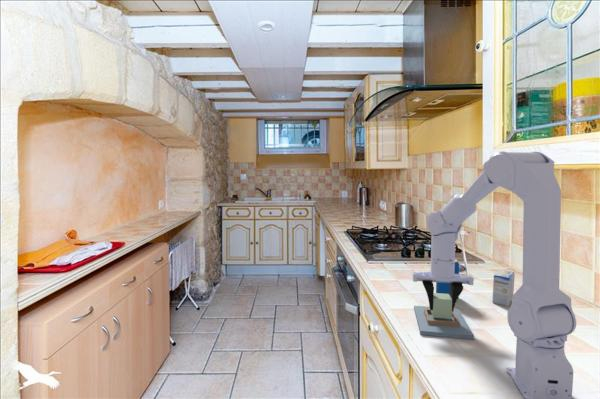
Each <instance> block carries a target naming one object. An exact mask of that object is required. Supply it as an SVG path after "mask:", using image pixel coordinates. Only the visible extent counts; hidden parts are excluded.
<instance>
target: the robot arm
mask: <svg viewBox="0 0 600 399" xmlns="http://www.w3.org/2000/svg"><path fill="white" fill-rule="evenodd" d="M482 165H483V166H482V172H481V173H480V174H479V175H478V176H477V178H475V180H473V182H472V184H470V186H469V187H468V188H467V189H466V190H465V191H464V193H457V194H456V193H455V194H453V195H451V198H450V200H449V201H448V202H447V203H446V204H445V205H444V206H442V207H441V208H440V210H438V211H432V212H430V213H429V214H428V216H427V219H426V228H427V230H428V232H429V233H430V235H431V240H430V242H431V244H430V271H425V272H420V271H419V272H414V271H413V272H412V281H413V282H416V283H417V282H422V285H423V287H424V289H425V293H426V295H427V299H428V305H429V306H428V307H430V310H433V294H434V293H435V287H434V283H436V282H442V283H449V288H450V297H451V299H452V312H453V310H454V309H455V306H456V304H457V301H458V298H459V296H460V295H461V294H462V292H463V291H464V286H463V285H469V286H474V280H475V279H474V276H472V275H467V274H460V273H459V274H454V270H455V259H456V242H457V240H458V236H459V232H461V229H462V226H463V225H462V224H463V223H464V222H465V221H466V220H468V219H469V218H470V217H471V216H472V215H474V213H475V212H476V211H477V204H478V203H479V202H480V201H482V200H483V199H485V198H486V197H487V196H488V195H490V194H491V193H492V192H494V191H495V190H496V189H498V188H499V187H501V188H503V189H506V190H508V191H510V192H512V193H514V194H515V196H517V197H518V198H519V199H520V200H522V202H523V213H522V214H523V215H522V216H523V217H522V218H523V219H522V220H523V222H522V224H523V225H522V226H523V227H522V230H523V231H522V233H523V235H522V237H523V238H522V284H521V286H520V287H519V288H518V289H517V290H516V291H515V292H514V293H513V296H512V301H511V304H510V307H509V310H508V311H507V317H506V318H507V324H508V326H509V327H510V330H511V331H512V333H513V336H514V337H516V343H515V344H516V345H515V346H516V348H515V364H514V365H515V367H507V368H506V371H507V372H508V374H509V376H510V378H511V379H512V381H513V382H514V384H515V385H516V387H517V388H518V390H519V391H520V393H521V394H522V397H523V398H524V399H575V398H574V397H573V387H574V385H573V383H574V368H573V366H572V364H571V362H570V361H569V359H568V358H567V356H566V352H565V342H567V341H568V336H569V335H571V334H572V333H573V332H575V330H576V327H577V318H576V315H575V312H574V311H573V308H572V298H571V297H570V296H569V295H568V294H566V293H565V292H563V291H562V290H561V289H560V268H561V266H560V264H561V261H560V259H561V217H562V216H561V215H562V213H561V212H562V210H561V209H562V189H561V187H560V185H559V182H558V180H557V177H556V175H555V161H554V160H552V158H550V157H549V156H548V155H546V154H544V153H543V152H541V151H531V152H526V151H525V152H523V151H522V152H519V151H517V152H516V151H515V152H513V151H511V152H509V151H508V152H507V151H500V150H499V151H497V152H495V153H493V154H492V155H491V156H490V157H489V158H488V160H486V161H485V162H484V163H483V164H482Z"/></svg>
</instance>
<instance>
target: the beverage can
mask: <svg viewBox="0 0 600 399" xmlns="http://www.w3.org/2000/svg"><path fill="white" fill-rule="evenodd" d="M458 261H459V260H458V258H455V270H454V274H460V264H459V262H458ZM435 293H443V294H449V295H450V288H449V283H442V282H435Z"/></svg>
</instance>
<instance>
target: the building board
mask: <svg viewBox="0 0 600 399" xmlns="http://www.w3.org/2000/svg"><path fill="white" fill-rule="evenodd" d="M413 311H414V315H415V318H416V323H417V327H418V331H419V335H420V336H430V337H432V336H433V337H441V338H442V337H443V338H451V339H453V338H454V339H463V340H473V341H474V340H475V335H474V333H473V331H472V329H471V328H470V325H469V324H468V322H467V321H466V318H465V317H464V315H463V314H462V312H461V310H460V308H454V310H453V312H452V319H445V318H433V315H432V313H431V310H430V307H429V306H424V305H423V306H422V305H414V306H413Z"/></svg>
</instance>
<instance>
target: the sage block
mask: <svg viewBox="0 0 600 399" xmlns="http://www.w3.org/2000/svg"><path fill="white" fill-rule="evenodd" d="M431 313H432V315H433V318H445V319H452V299H451V297H450V295H449V294H443V293H436V292H434V294H433V310H431Z"/></svg>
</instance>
